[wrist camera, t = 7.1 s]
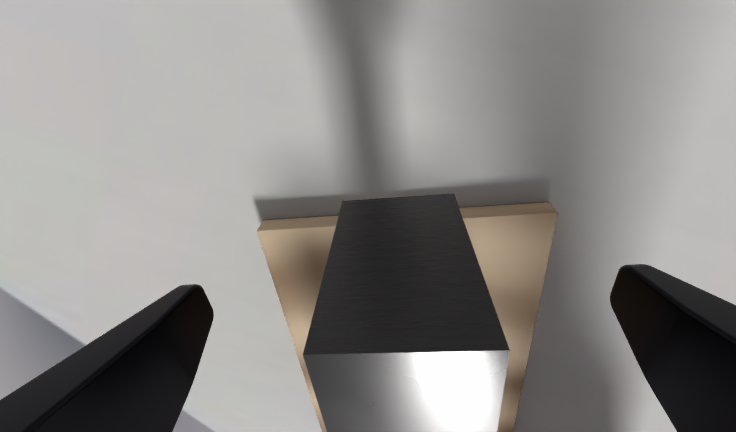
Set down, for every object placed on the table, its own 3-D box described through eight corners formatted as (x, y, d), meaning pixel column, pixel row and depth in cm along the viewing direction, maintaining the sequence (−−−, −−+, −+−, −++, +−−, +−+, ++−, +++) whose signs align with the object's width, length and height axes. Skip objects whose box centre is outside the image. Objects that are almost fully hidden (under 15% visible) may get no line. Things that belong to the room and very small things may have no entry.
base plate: (502, 450, 27) (506, 464, 27) (333, 448, 29) (332, 461, 28) (548, 202, 16) (558, 212, 15) (263, 220, 17) (256, 230, 16)
